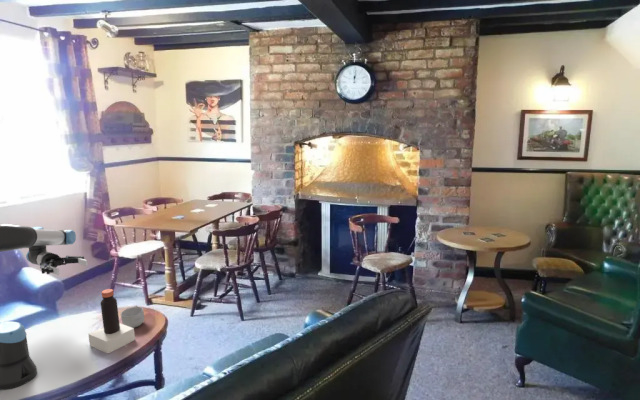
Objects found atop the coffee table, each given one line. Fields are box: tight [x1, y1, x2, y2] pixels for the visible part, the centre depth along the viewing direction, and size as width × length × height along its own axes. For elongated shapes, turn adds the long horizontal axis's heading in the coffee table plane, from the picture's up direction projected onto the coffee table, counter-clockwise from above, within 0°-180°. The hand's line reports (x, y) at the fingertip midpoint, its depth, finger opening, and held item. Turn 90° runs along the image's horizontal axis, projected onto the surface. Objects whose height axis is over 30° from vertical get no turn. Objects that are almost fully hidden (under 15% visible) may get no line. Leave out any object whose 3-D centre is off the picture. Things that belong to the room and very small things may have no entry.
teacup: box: [120, 305, 145, 329], centre depth 222 cm, size 14×11×8 cm
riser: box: [88, 322, 136, 354], centre depth 203 cm, size 14×14×6 cm
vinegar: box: [100, 288, 120, 334], centre depth 201 cm, size 7×7×20 cm
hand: (72, 267), depth 205 cm, fingers open, 13 cm apart
